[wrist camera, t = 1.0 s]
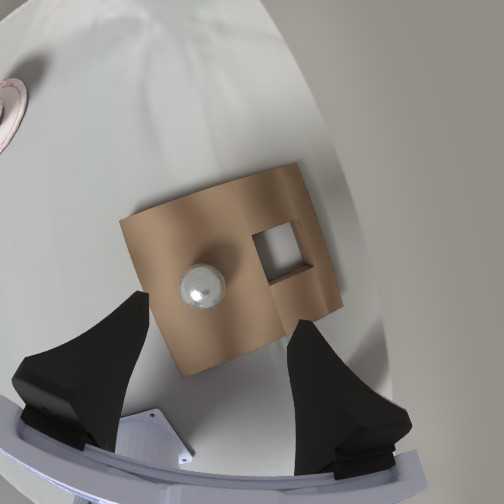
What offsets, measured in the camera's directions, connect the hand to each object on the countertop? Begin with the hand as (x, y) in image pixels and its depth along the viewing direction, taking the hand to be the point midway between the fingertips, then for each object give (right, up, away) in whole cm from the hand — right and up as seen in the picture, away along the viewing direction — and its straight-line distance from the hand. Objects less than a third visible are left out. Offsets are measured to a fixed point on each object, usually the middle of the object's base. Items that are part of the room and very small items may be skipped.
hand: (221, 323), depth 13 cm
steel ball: (-2, +1, +7) cm, 8 cm away
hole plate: (0, +2, +12) cm, 12 cm away
